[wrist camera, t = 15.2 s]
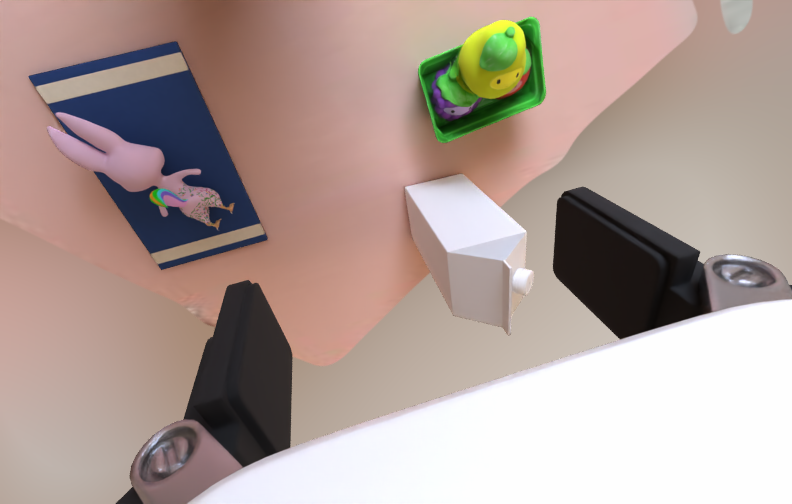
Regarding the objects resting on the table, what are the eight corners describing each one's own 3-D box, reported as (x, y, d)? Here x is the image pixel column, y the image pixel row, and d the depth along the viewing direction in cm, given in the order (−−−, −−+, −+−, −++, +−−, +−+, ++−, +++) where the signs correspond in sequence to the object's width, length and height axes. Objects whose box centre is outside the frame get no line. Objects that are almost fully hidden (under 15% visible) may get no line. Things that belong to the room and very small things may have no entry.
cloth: (30, 75, 30) (27, 76, 30) (176, 41, 31) (175, 41, 31) (162, 268, 41) (161, 270, 41) (267, 238, 42) (267, 240, 42)
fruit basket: (424, 134, 40) (462, 167, 30) (398, 46, 35) (434, 52, 26) (521, 94, 40) (589, 114, 30) (508, 0, 35) (585, -10, 26)
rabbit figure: (243, 186, 39) (77, 84, 30) (244, 214, 35) (50, 105, 26) (209, 226, 41) (41, 141, 31) (206, 258, 36) (9, 171, 27)
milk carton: (411, 238, 46) (469, 347, 30) (403, 185, 42) (465, 280, 27) (465, 224, 47) (548, 324, 31) (461, 172, 43) (555, 256, 27)
